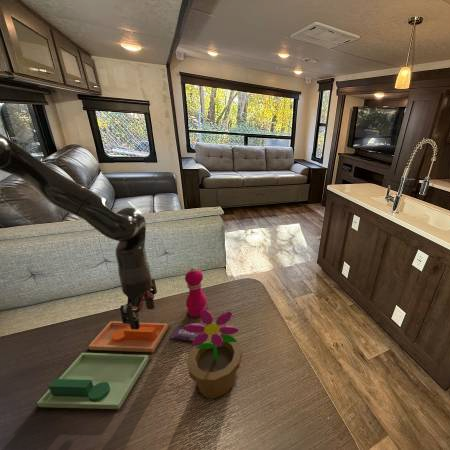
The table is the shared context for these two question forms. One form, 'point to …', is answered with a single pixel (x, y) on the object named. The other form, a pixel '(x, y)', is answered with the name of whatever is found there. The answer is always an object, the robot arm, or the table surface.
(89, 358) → the green tray
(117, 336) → the orange spoon
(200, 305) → the pepper mill
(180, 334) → the snack package
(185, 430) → the table surface
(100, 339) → the orange tray
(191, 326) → the flowerpot
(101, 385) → the green spoon
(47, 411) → the table surface
